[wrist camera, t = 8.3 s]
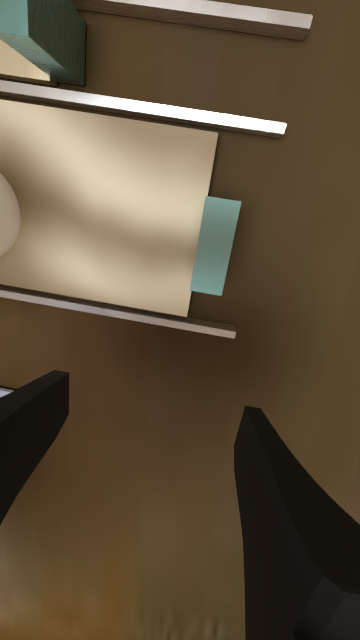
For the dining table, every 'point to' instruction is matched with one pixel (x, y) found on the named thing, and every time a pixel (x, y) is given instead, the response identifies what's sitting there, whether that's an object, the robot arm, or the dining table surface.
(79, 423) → the dining table surface
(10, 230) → the cup
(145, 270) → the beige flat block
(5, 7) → the lane rails
